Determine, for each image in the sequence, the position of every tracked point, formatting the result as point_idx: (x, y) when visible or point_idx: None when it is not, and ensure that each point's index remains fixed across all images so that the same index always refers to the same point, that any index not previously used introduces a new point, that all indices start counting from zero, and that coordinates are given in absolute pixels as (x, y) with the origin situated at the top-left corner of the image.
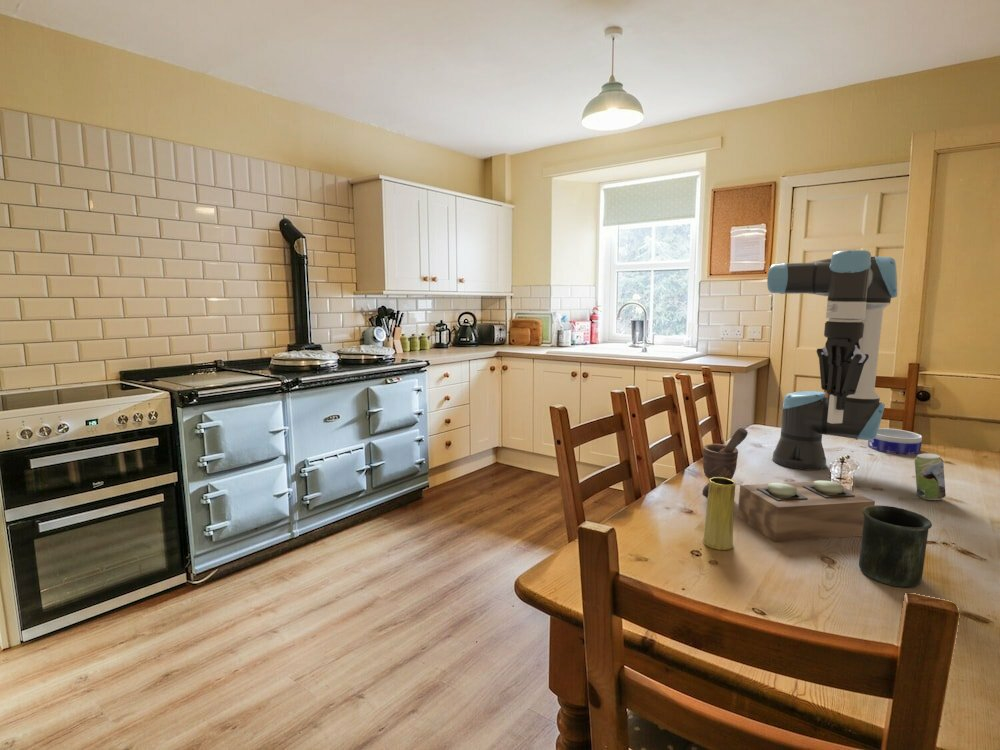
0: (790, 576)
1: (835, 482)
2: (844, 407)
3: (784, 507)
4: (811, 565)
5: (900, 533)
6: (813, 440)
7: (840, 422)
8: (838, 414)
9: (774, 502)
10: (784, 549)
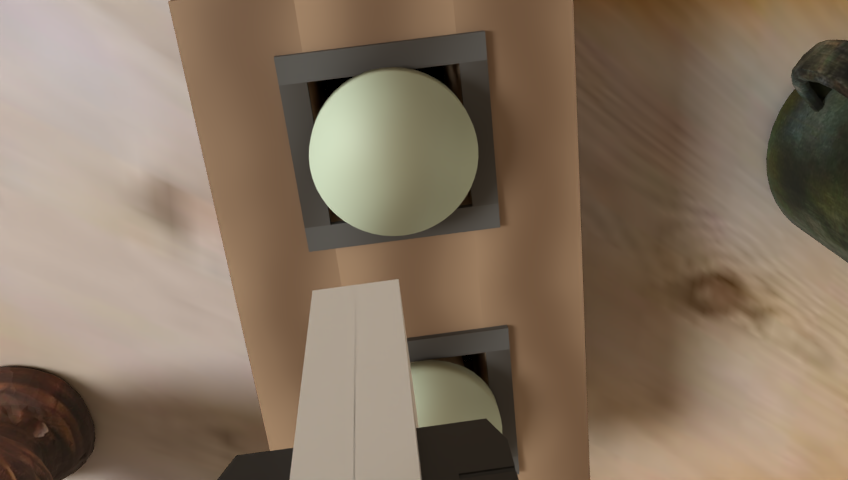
0: (786, 463)
1: (350, 82)
2: (511, 460)
3: (589, 470)
4: (737, 368)
5: None
6: None
7: (402, 308)
8: (414, 408)
9: None
10: (612, 396)
